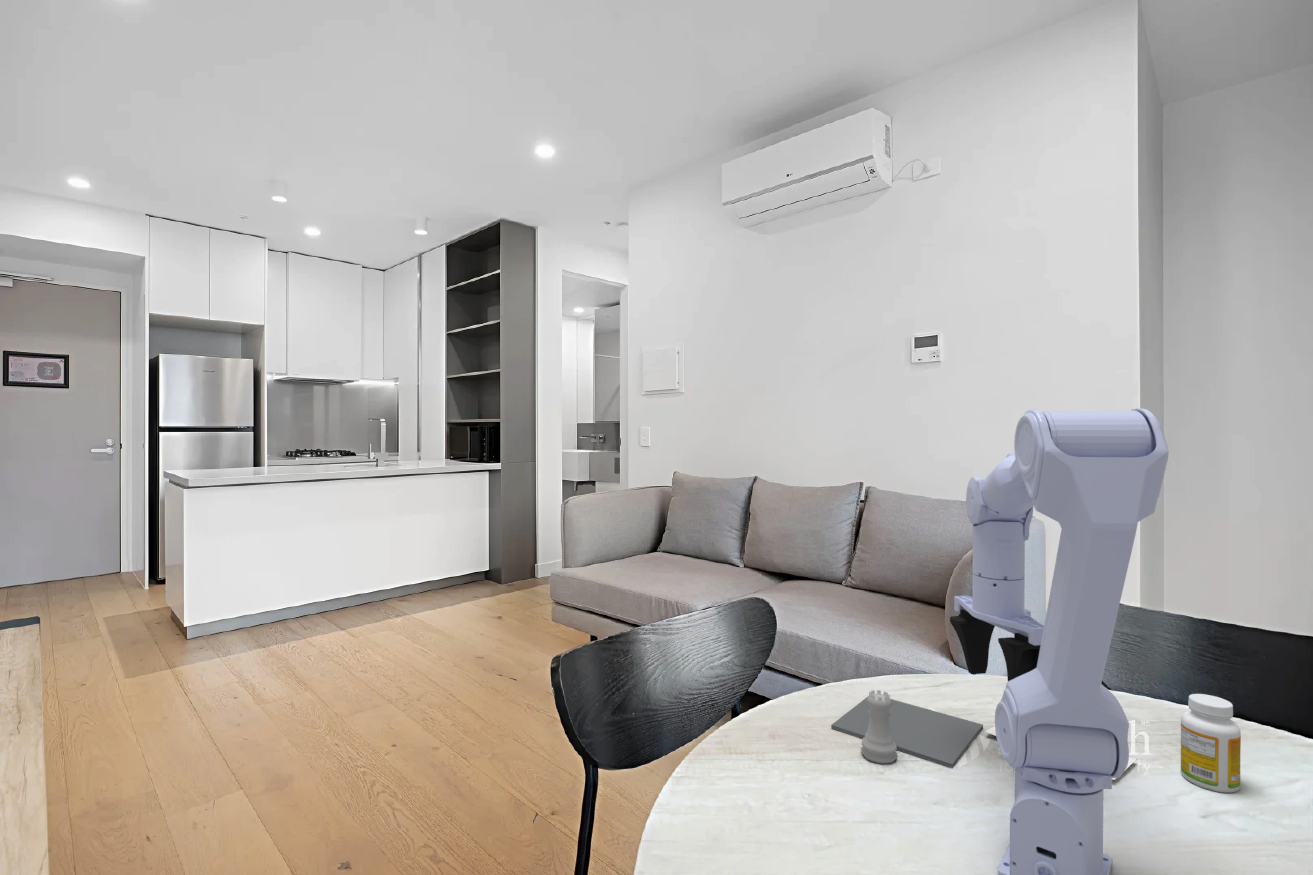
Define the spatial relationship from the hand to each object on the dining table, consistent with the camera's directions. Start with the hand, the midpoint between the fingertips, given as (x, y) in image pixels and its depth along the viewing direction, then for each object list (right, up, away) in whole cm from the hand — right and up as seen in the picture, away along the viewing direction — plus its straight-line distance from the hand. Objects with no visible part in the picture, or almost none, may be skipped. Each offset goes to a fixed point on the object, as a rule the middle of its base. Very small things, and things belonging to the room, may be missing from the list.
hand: (997, 684), depth 80 cm
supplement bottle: (+23, -10, -3) cm, 26 cm away
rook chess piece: (-14, -10, +2) cm, 17 cm away
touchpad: (+10, -11, +4) cm, 15 cm away
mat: (-7, -10, +10) cm, 16 cm away
